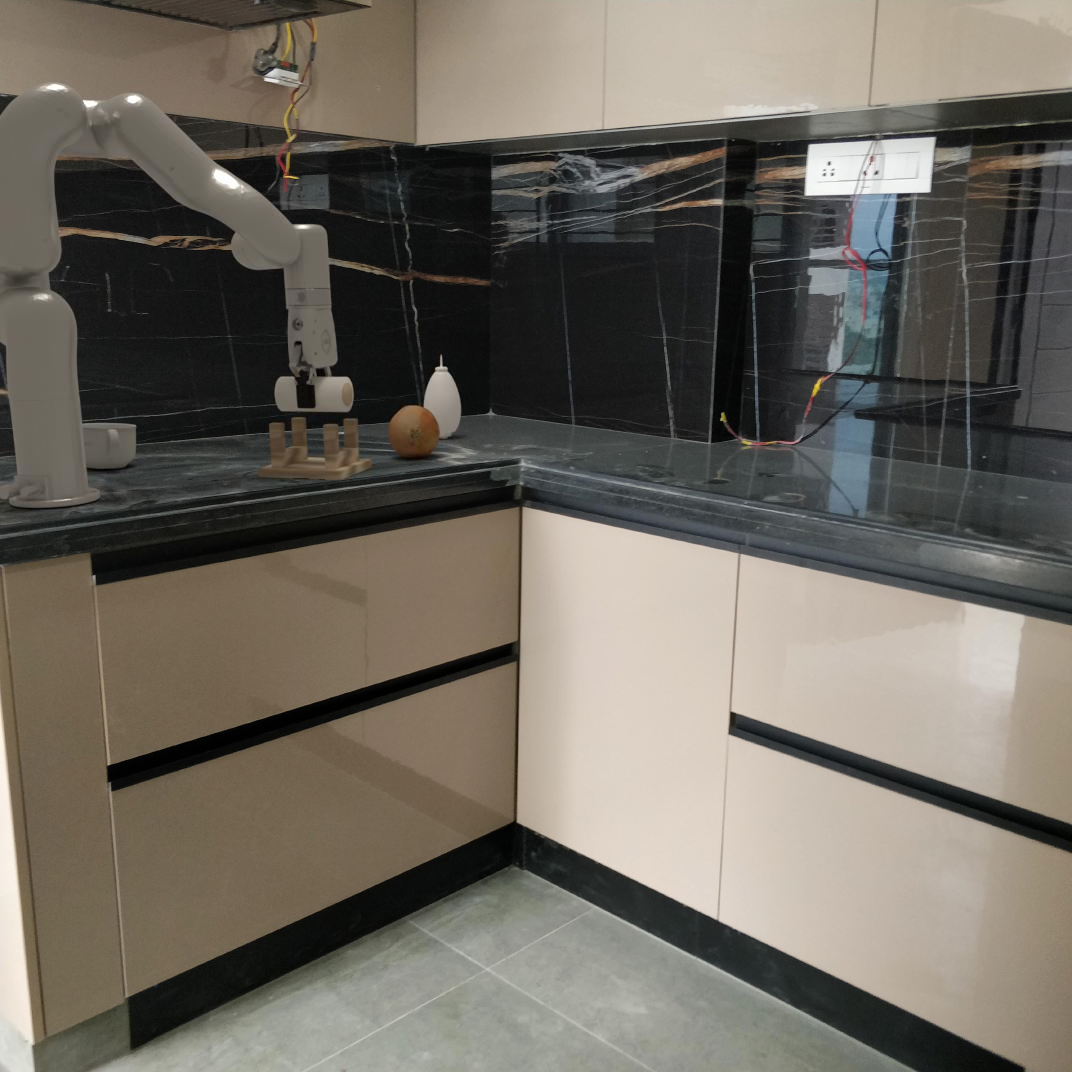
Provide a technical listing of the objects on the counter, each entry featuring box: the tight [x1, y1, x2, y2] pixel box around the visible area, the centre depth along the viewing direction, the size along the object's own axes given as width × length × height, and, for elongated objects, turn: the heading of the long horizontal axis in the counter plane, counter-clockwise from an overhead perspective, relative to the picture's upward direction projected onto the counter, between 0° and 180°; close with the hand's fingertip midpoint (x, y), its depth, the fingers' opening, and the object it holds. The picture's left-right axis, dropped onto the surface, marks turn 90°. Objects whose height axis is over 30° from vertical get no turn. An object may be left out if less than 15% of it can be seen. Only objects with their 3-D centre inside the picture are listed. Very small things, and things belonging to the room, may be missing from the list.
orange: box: [387, 405, 440, 459], centre depth 203 cm, size 10×10×10 cm
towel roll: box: [274, 376, 355, 413], centre depth 185 cm, size 6×12×6 cm, turn 76°
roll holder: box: [257, 416, 372, 481], centre depth 187 cm, size 14×15×9 cm
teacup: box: [82, 422, 137, 470], centre depth 192 cm, size 14×11×8 cm
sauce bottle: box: [423, 354, 462, 440], centre depth 230 cm, size 8×8×18 cm
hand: (315, 405), depth 185 cm, fingers closed on towel roll, 6 cm apart
